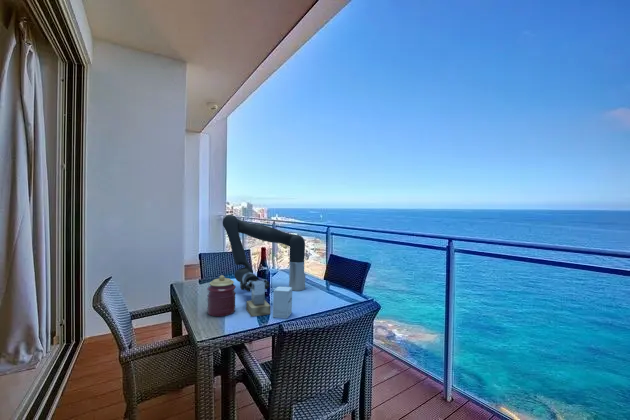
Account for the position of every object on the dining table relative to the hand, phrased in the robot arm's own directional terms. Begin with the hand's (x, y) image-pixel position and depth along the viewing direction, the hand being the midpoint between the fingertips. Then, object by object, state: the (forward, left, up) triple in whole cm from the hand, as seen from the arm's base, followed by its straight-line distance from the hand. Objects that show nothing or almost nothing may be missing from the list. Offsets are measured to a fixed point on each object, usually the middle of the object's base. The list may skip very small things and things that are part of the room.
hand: (258, 288), depth 144 cm
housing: (0, +1, -7) cm, 7 cm away
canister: (+17, -5, -11) cm, 21 cm away
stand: (0, +1, -11) cm, 11 cm away
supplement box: (-9, +10, -11) cm, 18 cm away
